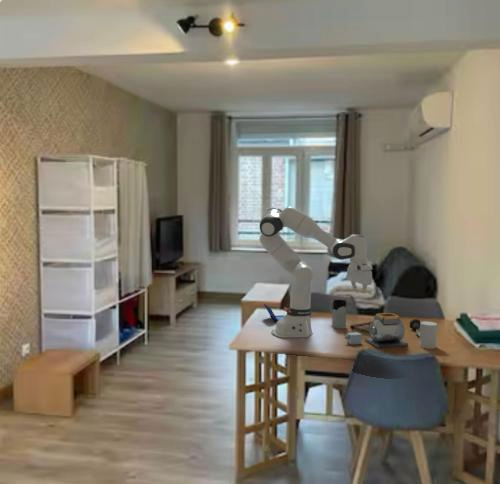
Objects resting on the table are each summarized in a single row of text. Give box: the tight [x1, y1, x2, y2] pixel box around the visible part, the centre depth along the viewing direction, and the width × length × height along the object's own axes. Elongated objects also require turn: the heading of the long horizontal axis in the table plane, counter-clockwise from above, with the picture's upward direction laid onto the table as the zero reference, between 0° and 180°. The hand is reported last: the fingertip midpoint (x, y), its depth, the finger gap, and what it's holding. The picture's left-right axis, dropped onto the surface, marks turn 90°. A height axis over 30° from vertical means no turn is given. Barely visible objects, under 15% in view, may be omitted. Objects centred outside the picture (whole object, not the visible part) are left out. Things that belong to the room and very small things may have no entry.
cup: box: [418, 321, 438, 350], centre depth 280 cm, size 8×8×12 cm
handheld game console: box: [263, 303, 285, 324], centre depth 331 cm, size 16×13×9 cm
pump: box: [344, 331, 363, 346], centre depth 284 cm, size 8×4×5 cm, turn 108°
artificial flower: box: [408, 318, 422, 337], centre depth 303 cm, size 9×22×10 cm, turn 170°
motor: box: [364, 312, 409, 349], centre depth 284 cm, size 17×14×15 cm
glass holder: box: [329, 299, 347, 329], centre depth 320 cm, size 9×14×15 cm, turn 24°
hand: (359, 290), depth 289 cm, fingers open, 8 cm apart
